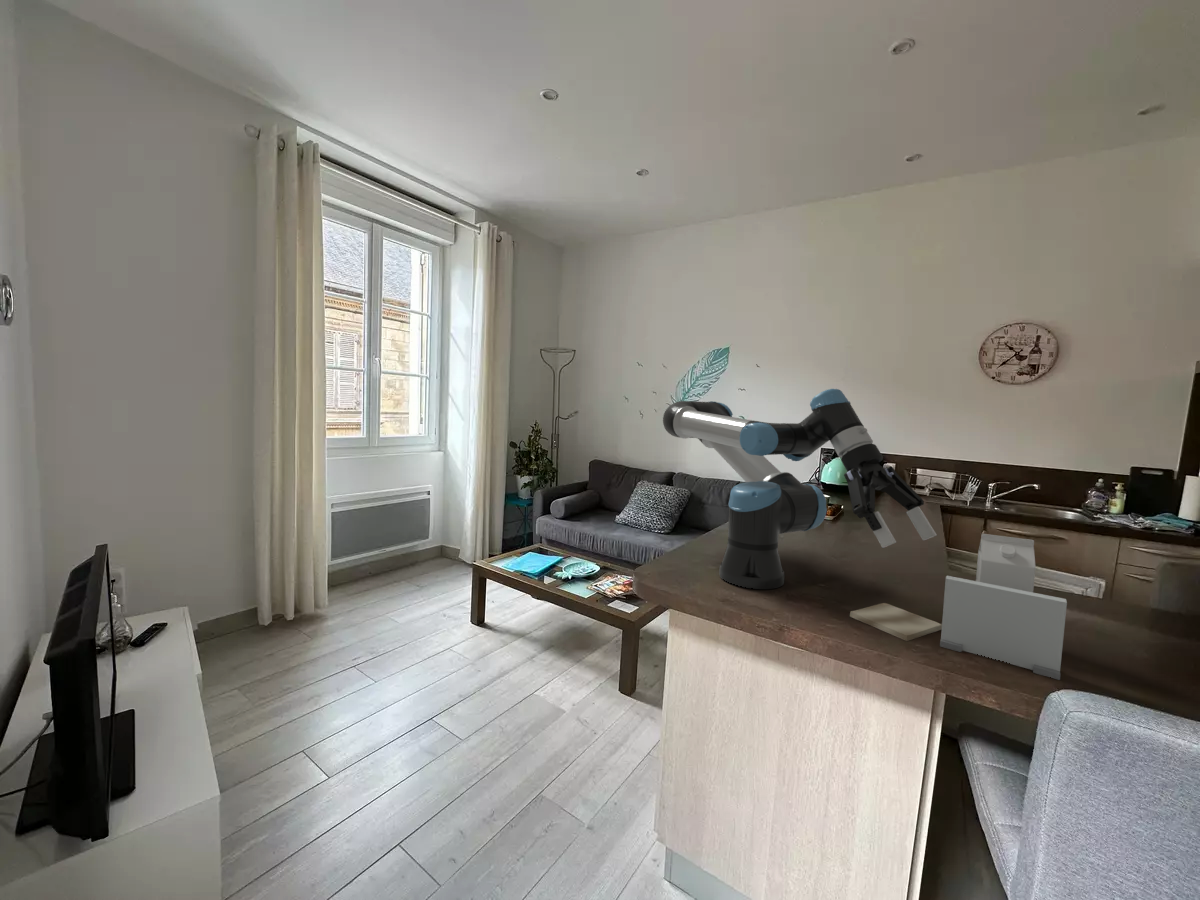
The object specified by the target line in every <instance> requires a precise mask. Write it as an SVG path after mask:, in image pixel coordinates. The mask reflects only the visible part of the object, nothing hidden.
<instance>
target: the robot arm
mask: <svg viewBox="0 0 1200 900" xmlns="http://www.w3.org/2000/svg"><path fill="white" fill-rule="evenodd" d="M809 406H810V408H811V413H810V414H808V416H806V417H805V418H804V419H803V420H802V421H800V422H798V423H795V422H794V423H787V422H785V423H784V422H783V423H777V422H764V421H758V420H752V419H747V418H746V419H745V418H740V417H735V416H733V415H734V414H733V412H732V410H731V409H730V407H729V406H728V405H727V404H725V403H722V402H717V401H695V400H694V401H691V400H681V401H679V400H678V401H676V402H674V403H672V404H670V405H669V406H668V407H667V408H666V409H665V411H664V413H663V415H662V416H663V417H662V423H663V424H662V425H663V428H664V429H665V431H666V432H667V433H668V434H669V435H671V436H672V437H675V438H680V439H697V440H699V441H700V442H701V444H703V446H704V447H706V448H708V449H714V450H715V451H716V452H717V453H718V454H719V455H720V456H721V458H722V459H723V460H724V461H725V462H726V463H727V464H728V465H729V466H730V467H731V468H732V469H733V470H734V471H735V472H736V473H737V474H738V475H739V477H740V478H741V479H742V480H743V481H744V482H741V483H739V484H736V485H734V486H733V487H732V488H731V489H730V495H729V500H728V526H727V527H728V530H727V531H728V533H727V537H728V538H727V547H726V549H725V552H724V555H723V558H722V561H721V562H720V564H719V571H718V572H719V573H718V575H720V576H719V577H720V578H721V580H723V579H724V580H725V582H726V581H727V582H726V583H728V582H729V583H728V584H730V583H732V584H731V585H733V584H735V585H734V586H736V585H738V587H740V586H742V587H741V588H745V587H746V588H745V589H751V588H753V589H754V590H774V589H778V588H780V587H782V586H784V585H785V571H784V569H783V568H782V563H781V558H780V554H779V534H788V533H796V532H797V533H798V532H807V531H809V530H813V529H816V528H818V527H819V526H820V525H821V524H823V522H824V520H825V518H826V517H827V512H828V511H827V510H828V508H827V500H826V496H825V495H824V493H823V491H822V489H820V488H819V487H818V486H816V485H814V484H810V483H805V484H803V483H802V482H801V481H799V480H798V479H797V478H796V477H795V476H794V475H793V474H792V473H790V472H787V471H782V472H781V471H780V470H779V469H778V468H777V467H776V466H775V465H773V463H772V462H771V461H769V459H767V458H766V457H765V456H772V455H773V456H774V455H783V456H784V457H785V458H786V459H788V460H791V461H792V462H799V461H802V460H804V459H805V458H807V457H810V456H812V454H813V453H814V452H816V451H817V450H819V449H820V448H821V447H823V446H824V445H825V444H827V442H830V444H831V445H832V448H833V450H834V451H835V453H836V454H837V456H838V457H839V458H841V459H840V461H841V462H842V465H843V467H844V469H845V470H846V472H845V473H844V474H843V476H844V478H845V480H846V482H847V488H848V492H849V498H850V499H849V500H850V503H851V504H850V505H851V508H852V513H853V514H854V515H856V516H857V517H858V519H863V518H865V520H866V522H867V523H868V526H869V528H870V529H871V531H872V532H873V535H874V536H875V537H876V539H877V541H878V542H879V545H880V546H881V548H883V549H884V548H886V547H889V546H892V545H893V544H896V543H897V540H896V539H895V537H894V535H893V534H892V532H891V530H890V529H889V526H888V525H887V523H886V522H885V520H884V518H883V516H882V515H881V512H880V511H876V508H875V507H876V491H880V492H882V493H886V494H887V495H888V496H889V497H891V498H892V500H894V501H896V502H897V503H898V504H900V505H901V506H902V507H904V509H906V510H907V511H906V512H905V513H906V515H907V516H908V518H909V519H910V521H911V523H912V524H913V526H914V529H915V530H916V532H917V533H918V535H919V537H920V538H921V540H922V541H926V540H930V539H932V538H935V537H936V536H938V535H937V533H936V531H935V530H934V528H933V527H932V525H931V523H930V522H929V520H928V518H927V516H926V515H925V513H924V512H923V511H922V509H921V508H920V507H921V506H924V504H925V503H924V500H923V498H922V497H921V496H919V494H918V493H917V492H916V491H915V490H914V489H913V488H912V487H911V486H910V485H909V484H908V483H907V482H906V481H905V480H904V479H903V478H902V477H901V476H900V475H899V474H898V473H897V471H896V470H895V468H894V467H893V466H892V465H891V466H889V467H886V468H884V467H883V466H882V465H881V463H882V461H883V460H884V457H883V455H882V453H881V450H879V448H878V446H877V445H876V444H875V443H874V440H873V439H872V437H871V435H870V434H869V433H868V428H866V427H865V426H864V425H863V423H862V421H861V419H860V417H859V416H858V414H857V413H856V411H855V409H854V408H853V406H852V404H851V401H849V399H848V398H847V397H846V396H845V394H844V392H843V391H842V390H840V389H839V388H829V389H825V390H822V391H821V392H819V393H817V394H815V396H813V398H812V399H811V400H810V403H809ZM724 580H723V581H724Z"/></svg>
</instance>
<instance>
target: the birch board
mask: <svg viewBox="0 0 1200 900" xmlns="http://www.w3.org/2000/svg"><path fill="white" fill-rule="evenodd" d="M849 612H850V613H849V617H850V618H853V619H854V620H857V621H858V622H859V621H860V622H862V623H864V624H866V625H869V626H871V627H873V628H876V629H878V630H880V631H883V632H885V633H887V634H889V635H891V636H895V637H897V638H899V639H901V640H904V641H905V642H908V641H912V640H914V639H917V638H920V637H923V636H926V635H930V634H931V633H935V632H938V631H942V623H939V622H937V621H934V620H932V619H929V618H927V617H924V616H920V615H918V614H916V613H913V612H910V611H907V610H905V609H903V608H900V607H897V606H894V605H892V604H890V603H886V602H882V603H878V604H874V605H871V606H866V607H864V608H859V609H856V610H851V611H849Z"/></svg>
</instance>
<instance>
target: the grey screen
mask: <svg viewBox="0 0 1200 900" xmlns="http://www.w3.org/2000/svg"><path fill="white" fill-rule="evenodd" d="M1067 605H1068V602H1067V599H1066V598H1063V597H1057V596H1052V595H1047V594H1042V593H1036V592H1034V591H1033V592H1028V591H1023V590H1018V589H1013V588H1008V587H1003V586H997V585H992V584H987V583H982V582H977V581H976V580H972V579H966V578H962V577H955V576H951V575H946V576H945V583H944V596H943V607H942V608H943V609H942V621H941V624H942V630H940V631H941V634H940V635H941V636H940V641H939V647H942V648H944V649H948V650H952V651H955V652H959V653H962V652H966V653H970V654H973V655H977V654H978V656H981V655H982V656H981V657H984V656H985V657H984V658H988V657H989V659H991V658H992V660H995V659H996V660H995V661H998V660H1000V662H1002V661H1004V662H1003V663H1006V662H1007V664H1009V663H1010V664H1009V665H1013V666H1017V667H1020V668H1023V669H1024V668H1025V669H1028V670H1031V671H1032V673H1033V674H1037V675H1040V676H1044V677H1048V678H1050V677H1051V679H1054V680H1058V681H1060V680H1061V666H1062V665H1061V664H1062V654H1063V645H1064V635H1065V626H1066V614H1067V607H1068V606H1067Z"/></svg>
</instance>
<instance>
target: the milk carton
mask: <svg viewBox="0 0 1200 900" xmlns="http://www.w3.org/2000/svg"><path fill="white" fill-rule="evenodd" d="M1034 545H1035V540H1033V539H1027V538H1019V537H1012V536H1011V537H1010V536H1005V535H996V534H987V533H981V538H980V542H979V545H978V546H979V547H978V551H977V561H976V562H977V564H976V574H975V575H976V576H975V581H977V582H982V583H987V584H992V585H997V586H1003V587H1008V588H1013V589H1018V590H1023V591H1028V592H1033V593H1034V588H1035V578H1036V576H1035V575H1036V558H1035V547H1034Z"/></svg>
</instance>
